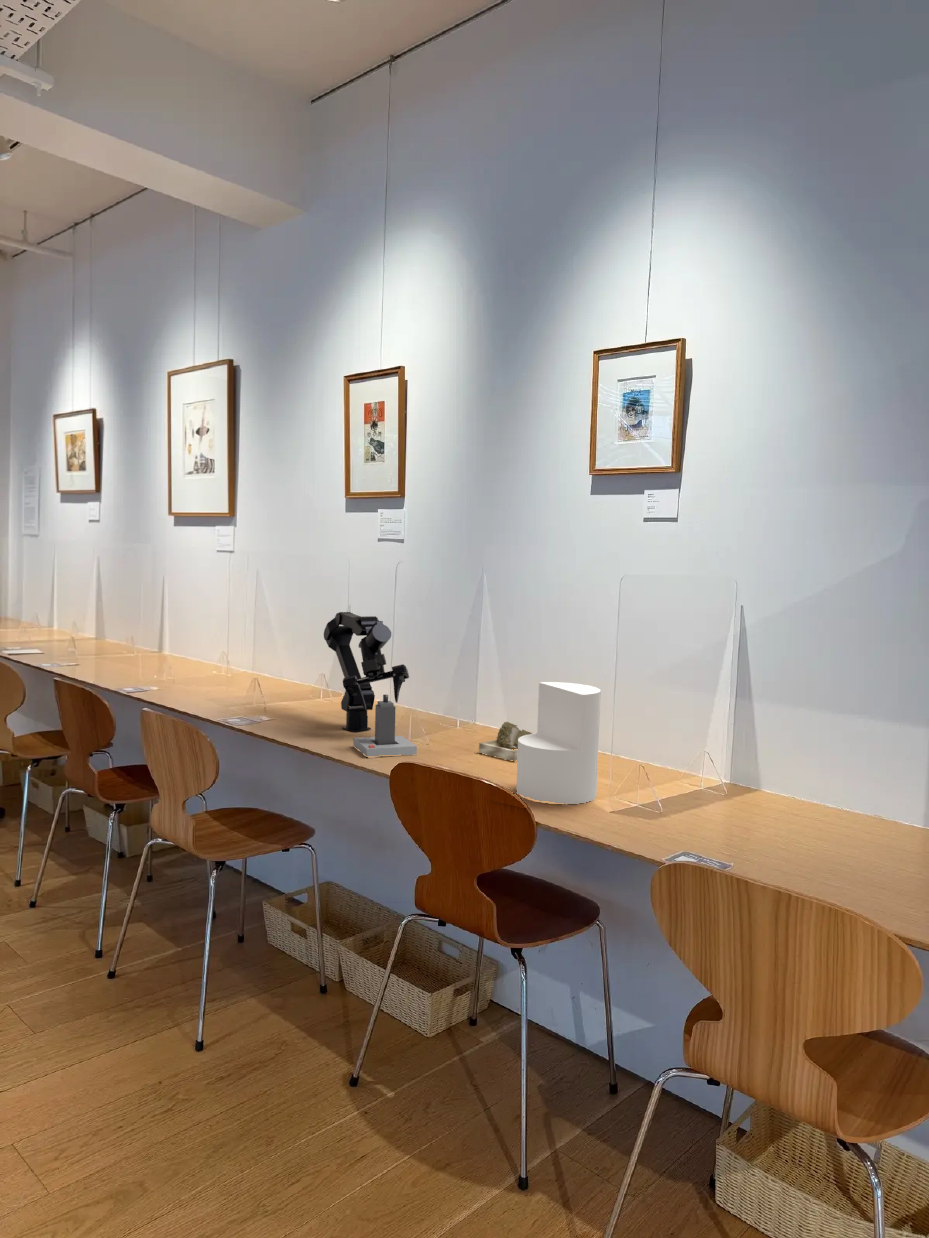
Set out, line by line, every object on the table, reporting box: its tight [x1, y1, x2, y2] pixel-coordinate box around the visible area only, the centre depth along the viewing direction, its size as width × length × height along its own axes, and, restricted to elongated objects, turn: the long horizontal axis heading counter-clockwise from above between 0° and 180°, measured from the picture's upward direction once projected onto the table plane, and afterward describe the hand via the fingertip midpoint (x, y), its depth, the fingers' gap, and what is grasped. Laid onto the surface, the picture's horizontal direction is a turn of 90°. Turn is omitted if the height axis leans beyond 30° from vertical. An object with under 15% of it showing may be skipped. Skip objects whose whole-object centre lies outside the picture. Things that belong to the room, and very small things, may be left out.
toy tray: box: [478, 739, 518, 761], centre depth 254 cm, size 13×21×3 cm, turn 136°
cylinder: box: [516, 681, 602, 805], centre depth 212 cm, size 19×19×25 cm
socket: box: [352, 735, 418, 756], centre depth 251 cm, size 14×14×3 cm
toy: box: [496, 721, 534, 749], centre depth 254 cm, size 7×7×15 cm
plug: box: [374, 694, 396, 745], centre depth 250 cm, size 4×4×15 cm
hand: (380, 705), depth 261 cm, fingers open, 9 cm apart
